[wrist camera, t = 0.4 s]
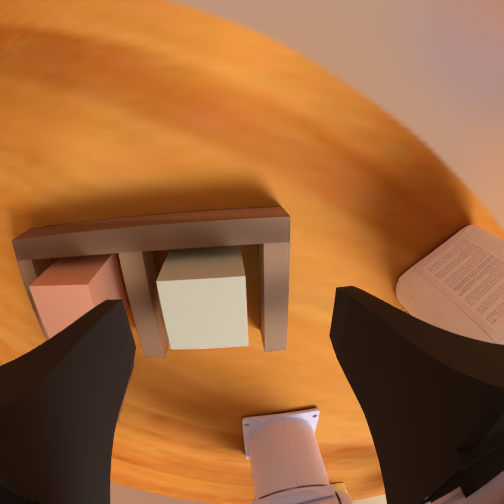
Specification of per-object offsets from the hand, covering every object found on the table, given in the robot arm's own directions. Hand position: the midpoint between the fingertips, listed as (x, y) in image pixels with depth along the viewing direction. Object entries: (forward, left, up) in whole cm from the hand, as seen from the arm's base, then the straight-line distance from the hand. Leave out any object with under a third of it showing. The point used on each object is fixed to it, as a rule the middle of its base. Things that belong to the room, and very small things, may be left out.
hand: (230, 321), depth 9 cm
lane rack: (-3, +6, -10) cm, 12 cm away
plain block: (-3, +1, -10) cm, 11 cm away
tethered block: (-7, +10, -10) cm, 15 cm away
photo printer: (-4, -18, -10) cm, 21 cm away
